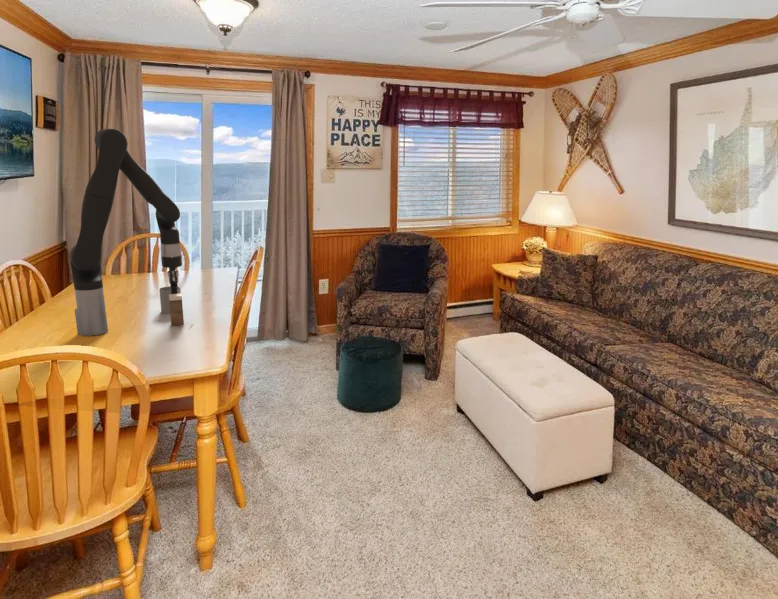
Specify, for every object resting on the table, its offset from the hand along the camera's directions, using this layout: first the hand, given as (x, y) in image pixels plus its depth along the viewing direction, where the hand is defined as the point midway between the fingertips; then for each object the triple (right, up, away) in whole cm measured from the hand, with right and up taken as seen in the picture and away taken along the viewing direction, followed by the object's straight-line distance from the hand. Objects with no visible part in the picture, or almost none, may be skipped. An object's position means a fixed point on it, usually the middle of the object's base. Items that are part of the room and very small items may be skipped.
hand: (174, 296), depth 218 cm
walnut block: (+3, -11, -5) cm, 12 cm away
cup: (-7, -6, +14) cm, 17 cm away
